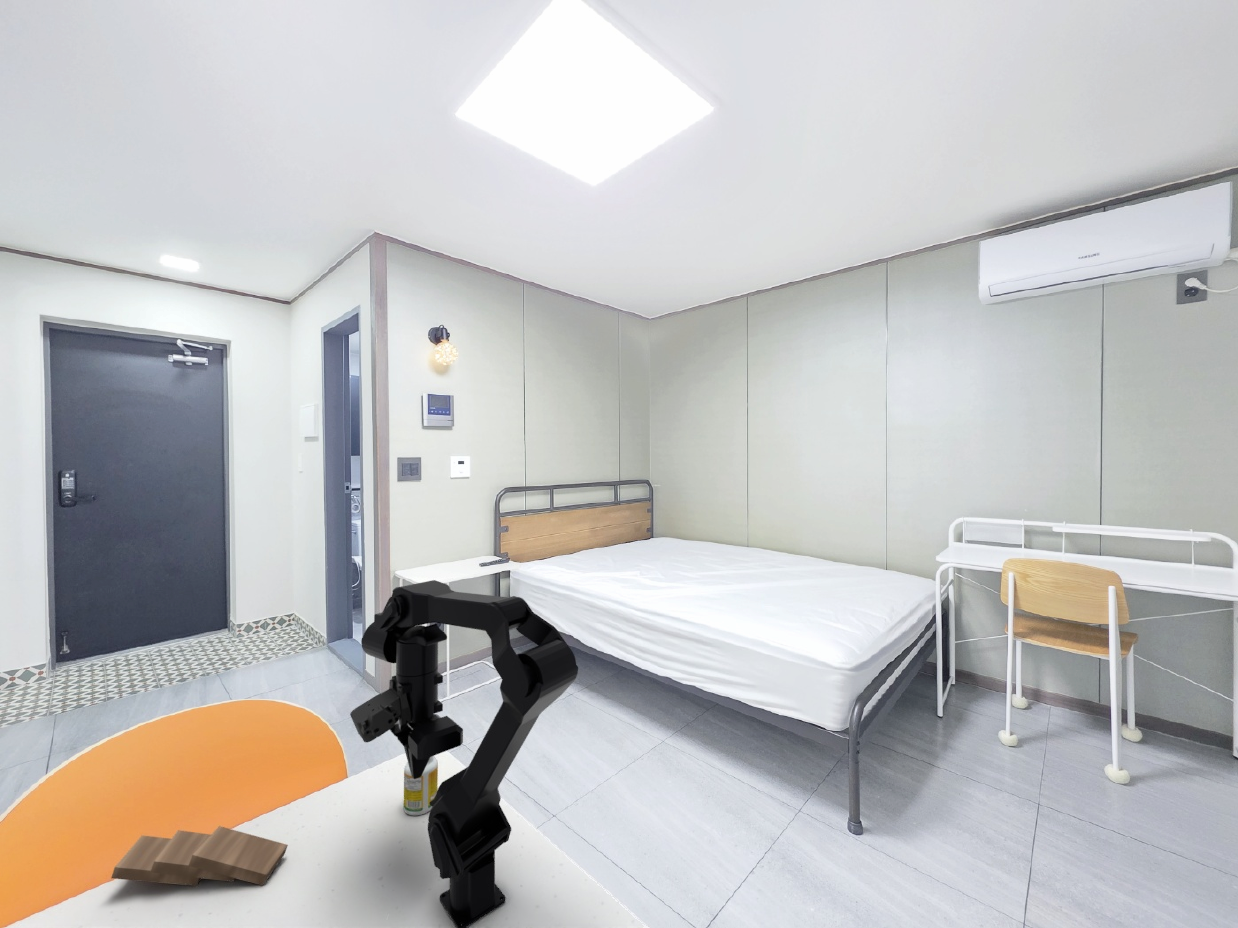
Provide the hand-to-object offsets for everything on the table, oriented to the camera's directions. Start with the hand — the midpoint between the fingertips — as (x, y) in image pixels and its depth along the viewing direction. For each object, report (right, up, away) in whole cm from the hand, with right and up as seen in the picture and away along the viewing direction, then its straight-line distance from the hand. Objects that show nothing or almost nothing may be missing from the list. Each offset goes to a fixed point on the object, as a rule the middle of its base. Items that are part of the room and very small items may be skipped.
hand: (416, 776), depth 72 cm
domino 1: (-29, -11, -2) cm, 31 cm away
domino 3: (-19, -11, -2) cm, 22 cm away
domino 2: (-24, -11, -2) cm, 27 cm away
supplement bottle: (-4, -13, +12) cm, 18 cm away
